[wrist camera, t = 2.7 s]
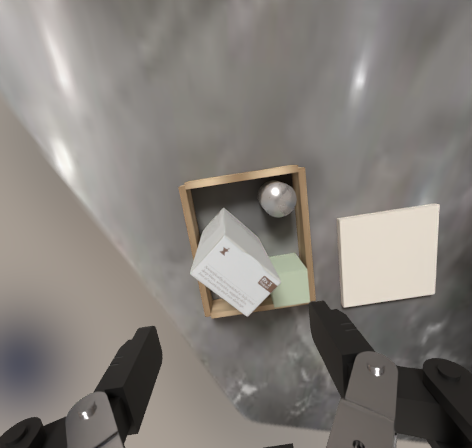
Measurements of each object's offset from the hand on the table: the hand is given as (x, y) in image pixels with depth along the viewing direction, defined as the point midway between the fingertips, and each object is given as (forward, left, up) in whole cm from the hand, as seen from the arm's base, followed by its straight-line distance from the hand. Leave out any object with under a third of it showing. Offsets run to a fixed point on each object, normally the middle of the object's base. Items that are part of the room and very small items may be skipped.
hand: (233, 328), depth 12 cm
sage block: (-6, +6, -18) cm, 20 cm away
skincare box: (0, 0, -18) cm, 18 cm away
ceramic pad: (-19, +6, -18) cm, 27 cm away
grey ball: (-6, -4, -18) cm, 19 cm away
